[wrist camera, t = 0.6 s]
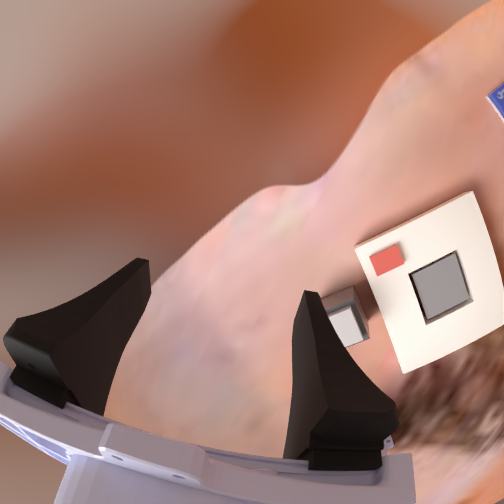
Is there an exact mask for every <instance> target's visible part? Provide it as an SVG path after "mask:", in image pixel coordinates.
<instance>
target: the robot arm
mask: <svg viewBox="0 0 504 504" xmlns="http://www.w3.org/2000/svg"><path fill="white" fill-rule="evenodd" d="M150 295H151V283H150V271H149V260H146V259H141V258H136V259H134V260H133V261H132V262H130V263H129V264H127V265H126V266H125V267H123V268H122V269H121V270H119V271H118V272H116V273H115V274H113V275H112V276H110V277H109V278H108V279H106V280H105V281H103V282H102V283H100V284H98V285H97V286H96V287H94V288H92V289H91V290H89V291H88V292H86V293H84V294H82V295H80V296H78V297H77V298H75V299H73V300H70V301H68V302H66V303H64V304H61V305H59V306H57V307H55V308H52V309H49V310H46V311H43V312H40V313H37V314H34V315H29V316H25V317H21V318H17V319H16V321H15V322H14V323H13V324H12V326H11V327H10V329H9V330H8V331H7V333H6V334H5V335H4V337H3V342H4V345H5V347H6V349H7V351H8V352H9V354H10V356H11V357H12V359H13V360H14V362H15V363H16V367H15V369H14V370H13V369H12V368H11V367H10V366H9V365H7V364H5V363H4V362H2V361H0V424H1V425H3V426H4V427H6V428H7V429H8V430H10V431H12V432H13V433H14V434H16V435H17V436H19V437H21V438H22V439H24V440H25V441H27V442H28V443H30V444H31V445H33V446H35V447H36V448H38V449H40V450H41V451H43V452H45V453H46V454H48V455H50V456H52V457H53V458H55V459H57V460H59V461H60V462H62V463H64V464H66V465H68V466H67V469H66V472H65V475H64V477H63V480H62V482H61V485H60V488H59V490H58V493H57V496H56V499H55V501H54V504H415V503H416V494H415V482H414V471H413V462H412V454H411V453H401V454H389V455H387V449H389V448H392V447H393V446H394V443H393V440H392V437H391V434H392V433H393V432H394V431H395V430H396V429H397V428H398V426H399V417H398V411H397V408H396V404H395V402H394V401H393V400H392V399H390V398H389V397H388V396H387V395H386V394H385V393H383V392H382V391H381V390H380V389H379V388H378V387H377V386H376V385H375V384H374V383H373V382H372V381H371V380H370V379H369V378H368V377H367V376H366V374H365V373H364V372H363V371H362V370H361V369H360V367H359V366H358V365H357V364H356V362H355V361H354V360H353V358H352V357H351V356H350V354H349V353H348V351H347V350H346V348H345V346H344V345H343V343H342V341H341V340H340V338H339V336H338V335H337V333H336V331H335V329H334V327H333V325H332V323H331V321H330V319H329V317H328V315H327V313H326V310H325V308H324V306H323V303H322V301H321V299H320V296H319V294H318V293H317V292H312V291H306V290H304V293H303V296H302V299H301V302H300V305H299V308H298V311H297V314H296V316H295V319H294V324H293V334H292V373H293V386H292V398H291V407H290V416H289V423H288V430H287V437H286V443H285V449H284V454H283V459H282V458H272V457H264V456H256V455H249V454H243V453H237V452H231V451H225V450H220V449H215V448H210V447H205V446H200V445H196V444H191V443H187V442H183V441H179V440H175V439H171V438H168V437H164V436H160V435H157V434H153V433H150V432H147V431H143V430H140V429H137V428H134V427H131V426H128V425H125V424H122V423H119V422H116V421H114V420H111V419H108V418H105V417H103V415H104V411H105V407H106V402H107V399H108V395H109V391H110V388H111V384H112V381H113V378H114V375H115V372H116V369H117V366H118V364H119V361H120V358H121V356H122V353H123V351H124V349H125V346H126V344H127V343H128V341H129V339H130V337H131V335H132V333H133V331H134V329H135V328H136V326H137V324H138V322H139V320H140V318H141V316H142V315H143V313H144V311H145V308H146V306H147V303H148V301H149V298H150ZM387 440H389V441H387Z"/></svg>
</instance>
